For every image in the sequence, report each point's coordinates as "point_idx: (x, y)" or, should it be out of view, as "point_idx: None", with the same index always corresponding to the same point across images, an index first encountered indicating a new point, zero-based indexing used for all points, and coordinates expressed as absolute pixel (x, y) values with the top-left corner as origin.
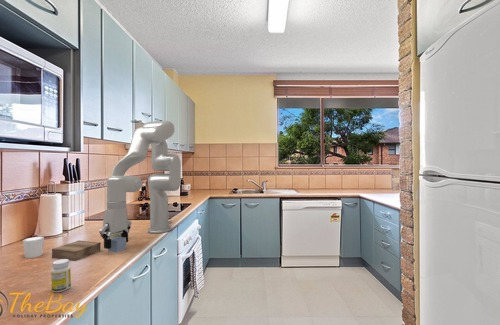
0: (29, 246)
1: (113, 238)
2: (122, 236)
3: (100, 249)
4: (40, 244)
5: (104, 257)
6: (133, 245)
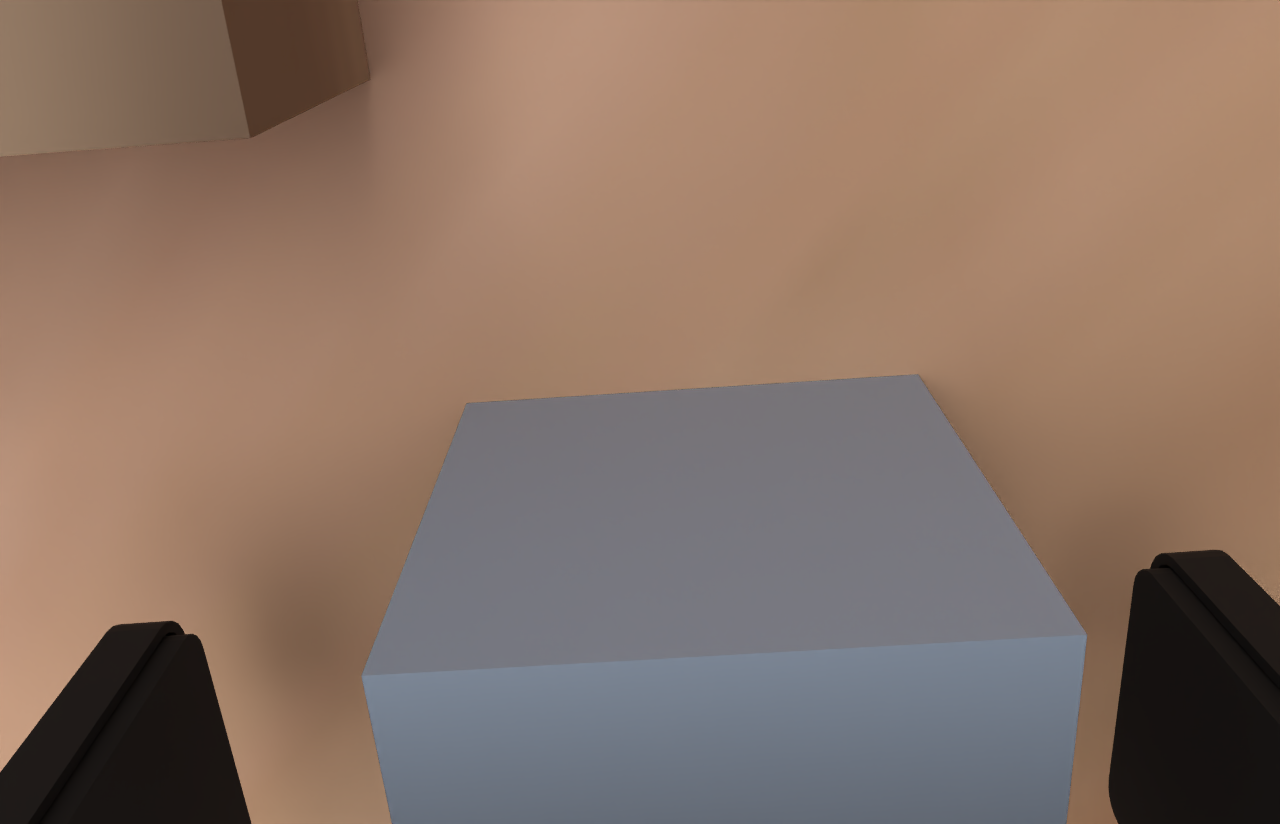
0: None
1: (704, 739)
2: (1270, 789)
3: (353, 87)
4: None
5: None
6: None
